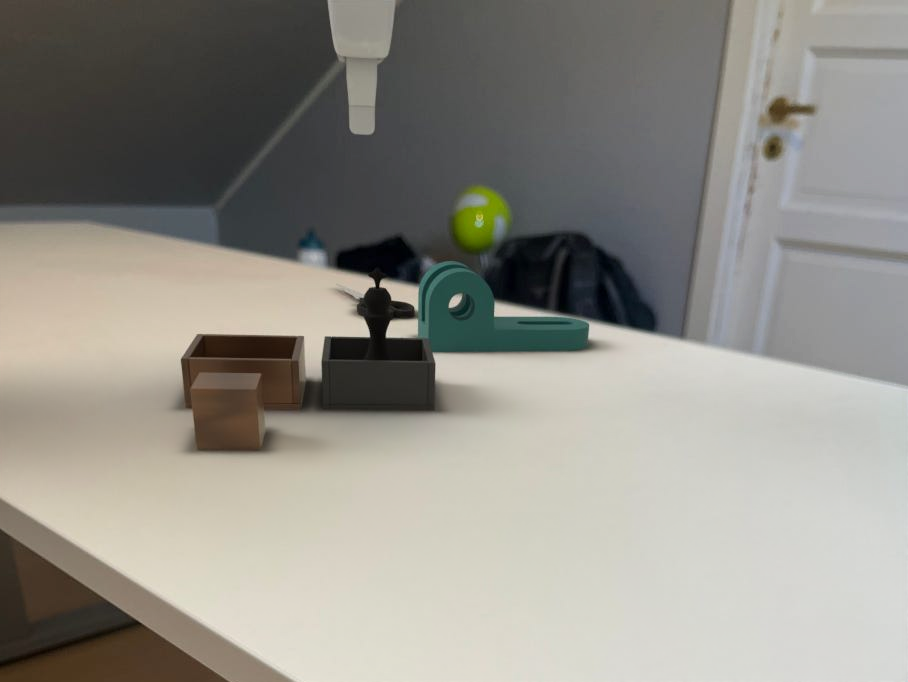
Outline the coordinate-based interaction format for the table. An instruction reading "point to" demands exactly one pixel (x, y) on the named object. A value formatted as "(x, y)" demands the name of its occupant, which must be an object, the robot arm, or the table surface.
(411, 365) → the black bin
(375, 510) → the table surface
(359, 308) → the scissors
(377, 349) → the chess piece
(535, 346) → the bracket
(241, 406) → the walnut block
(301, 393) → the brown bin
